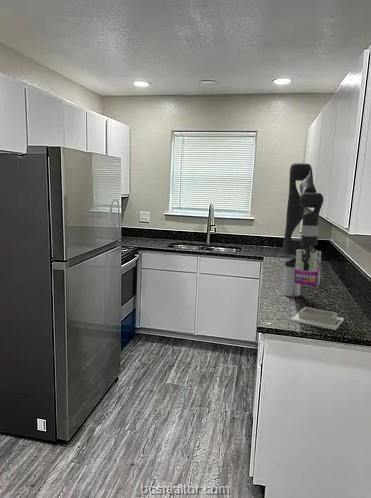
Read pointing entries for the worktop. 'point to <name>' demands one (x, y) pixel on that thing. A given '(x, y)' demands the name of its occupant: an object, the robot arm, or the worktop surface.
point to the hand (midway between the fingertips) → (307, 269)
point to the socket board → (318, 318)
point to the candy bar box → (314, 269)
